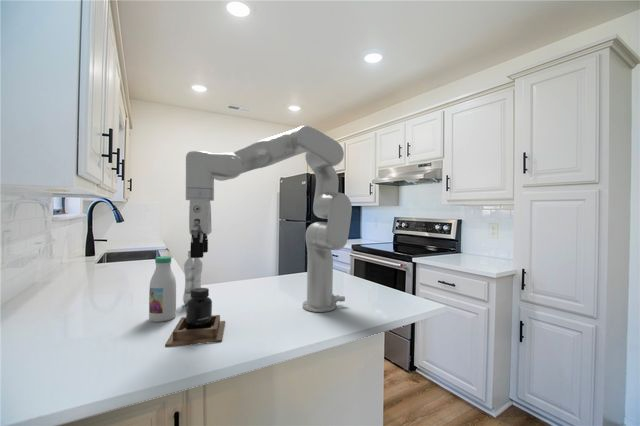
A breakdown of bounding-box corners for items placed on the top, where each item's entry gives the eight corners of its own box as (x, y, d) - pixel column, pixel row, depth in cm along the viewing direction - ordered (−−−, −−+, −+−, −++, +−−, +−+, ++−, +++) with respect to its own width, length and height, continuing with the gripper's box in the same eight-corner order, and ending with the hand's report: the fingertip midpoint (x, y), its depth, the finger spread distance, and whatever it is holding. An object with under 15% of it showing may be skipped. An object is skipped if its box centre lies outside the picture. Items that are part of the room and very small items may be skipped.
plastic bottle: (178, 305, 109) (179, 251, 109) (193, 300, 115) (193, 249, 115) (192, 308, 107) (192, 252, 106) (206, 303, 113) (206, 250, 113)
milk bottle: (171, 312, 102) (171, 254, 102) (179, 318, 97) (180, 257, 96) (146, 317, 97) (146, 256, 96) (153, 324, 91) (153, 259, 91)
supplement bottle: (202, 337, 82) (203, 293, 81) (180, 334, 83) (181, 291, 83) (216, 327, 88) (216, 287, 88) (195, 325, 90) (196, 285, 89)
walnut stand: (225, 322, 94) (225, 312, 94) (221, 341, 80) (221, 330, 80) (177, 326, 90) (177, 316, 90) (165, 346, 77) (165, 334, 77)
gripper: (210, 194, 77) (210, 259, 78) (216, 196, 94) (216, 250, 94) (179, 193, 76) (178, 260, 76) (191, 196, 92) (191, 251, 93)
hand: (199, 254), depth 85 cm, fingers open, 9 cm apart
